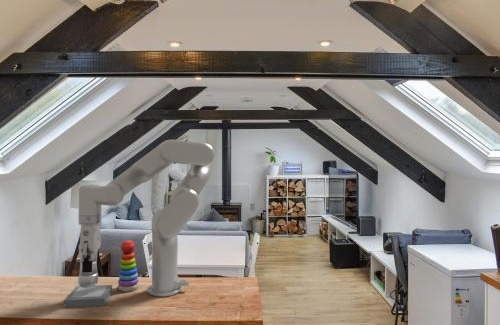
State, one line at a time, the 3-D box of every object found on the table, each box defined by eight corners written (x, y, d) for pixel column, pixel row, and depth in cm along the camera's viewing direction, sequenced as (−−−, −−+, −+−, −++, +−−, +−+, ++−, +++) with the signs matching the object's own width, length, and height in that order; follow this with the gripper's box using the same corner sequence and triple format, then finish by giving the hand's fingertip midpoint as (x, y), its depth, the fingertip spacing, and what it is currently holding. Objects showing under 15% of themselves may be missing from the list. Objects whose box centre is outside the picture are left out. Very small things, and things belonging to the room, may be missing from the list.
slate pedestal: (112, 291, 142) (112, 284, 142) (104, 305, 129) (104, 297, 129) (76, 292, 140) (76, 285, 140) (64, 307, 127) (64, 299, 127)
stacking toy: (141, 284, 149) (141, 238, 149) (135, 292, 141) (136, 243, 141) (121, 284, 149) (121, 238, 149) (114, 292, 141) (115, 243, 141)
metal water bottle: (75, 286, 134) (74, 231, 133) (93, 281, 139) (93, 228, 138) (82, 291, 130) (82, 234, 129) (101, 286, 135) (101, 231, 134)
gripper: (94, 223, 126) (94, 277, 126) (106, 215, 143) (105, 262, 143) (71, 224, 125) (70, 277, 125) (85, 215, 141) (85, 262, 142)
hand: (89, 268), depth 134 cm, fingers closed on metal water bottle, 5 cm apart
